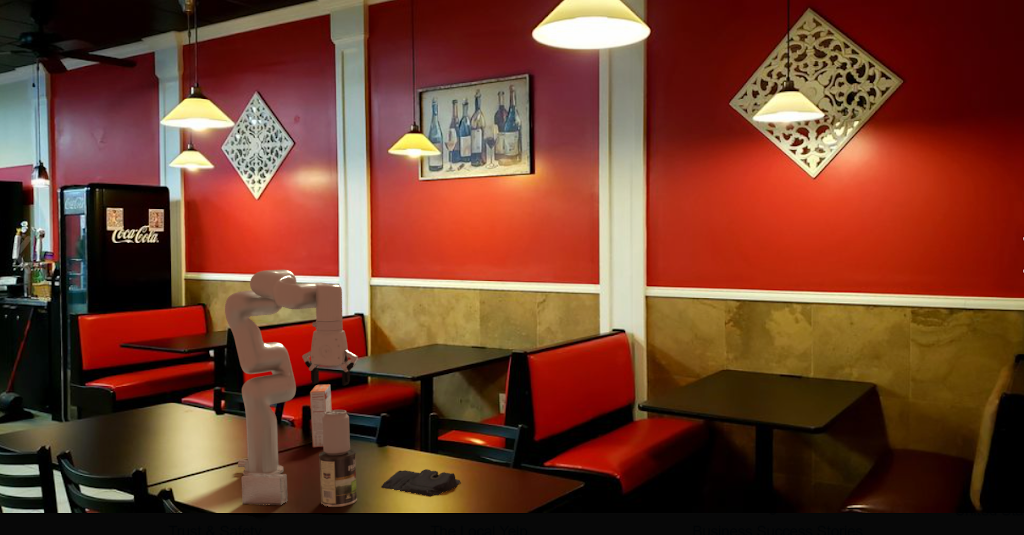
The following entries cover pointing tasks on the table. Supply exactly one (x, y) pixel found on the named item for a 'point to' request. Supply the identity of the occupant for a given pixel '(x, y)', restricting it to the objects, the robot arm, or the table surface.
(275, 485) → the pinkish brown box
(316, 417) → the cracker box
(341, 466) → the coffee can
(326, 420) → the can
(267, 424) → the robot arm
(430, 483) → the dark slate chunk
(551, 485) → the table surface
